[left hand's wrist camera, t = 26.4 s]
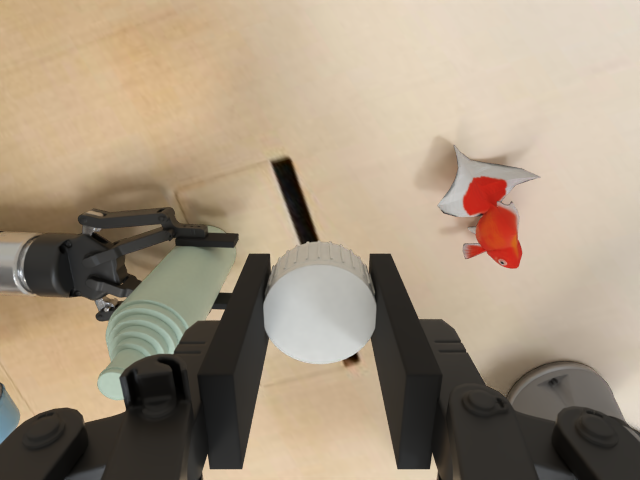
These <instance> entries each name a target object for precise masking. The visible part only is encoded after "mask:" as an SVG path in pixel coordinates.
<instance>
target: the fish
mask: <svg viewBox="0 0 640 480" xmlns="http://www.w3.org/2000/svg"><path fill="white" fill-rule="evenodd" d="M453 146H454V149H455V151H456V155H457V162H458V171H457V174H456V178H455V180H454V182H453V184H452V186H451V188H450V189H449V191H448V192H447V194H446V195H445V196H444V198H443V199H442V200H441V201H440V203H439V204H438V205H437V206H438V207H439V208H440V209H441V211H442V212H443V213H445V214H448V215H452V216H456V217H473V216H481V219H480V220H479V222H478V224H477V226H474V227H468V230H469V231H471V232H473V233H474V234H476V238H477V240H478V242H479V243H474V244H464V245H463V253H464V256H465V259H469V258H471V257H474V256H476V255H478V254H481V253H483V252H486V251H487V254H488V255H489V256H491V257H492V258H493V259H494V260H495V261H496V262H497V263H498V264H500V265H502V266H504V267H506V268H517V267H519V264H520V260H521V256H522V249H521V246H520V243H519V241H518V235H517V233H518V226H519V214H518V211H517V209H516V207H515V205H514V204H513V202H511V203H510V204H509V205H505V204H503V203H501V202H502V200H503V199H504V197H505V196H506V195H507V194H508V193H509V192H510V191H511V190H512V189H513V187H514V186H515V185H517V184H520V183H523V182H526V181H529V180H532V179H536V178H540V177H539V176H537V175H535V174H533V173H531V172H528V171H526V170H524V169H521V168H515V167H510V166H504V165H499V164H491V163H484V162H479V161H474V160H470V159H469V158H468V157H466V156H465V155H464V154H462V153H461V152H460V151H459V150H458V149H457V148H456V146H455V145H453ZM497 206H498V207H497Z"/></svg>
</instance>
